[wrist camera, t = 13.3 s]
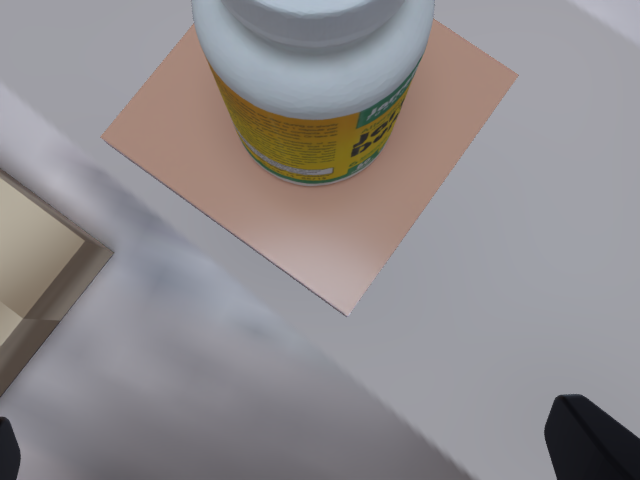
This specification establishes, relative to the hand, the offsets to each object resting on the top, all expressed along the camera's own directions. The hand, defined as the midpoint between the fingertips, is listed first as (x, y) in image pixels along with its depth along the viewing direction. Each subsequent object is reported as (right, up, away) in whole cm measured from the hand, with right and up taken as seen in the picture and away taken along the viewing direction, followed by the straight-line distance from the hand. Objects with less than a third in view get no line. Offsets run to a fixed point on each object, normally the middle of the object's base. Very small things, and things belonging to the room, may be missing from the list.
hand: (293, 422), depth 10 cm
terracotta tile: (0, +7, +11) cm, 13 cm away
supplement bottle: (0, +7, +10) cm, 12 cm away
